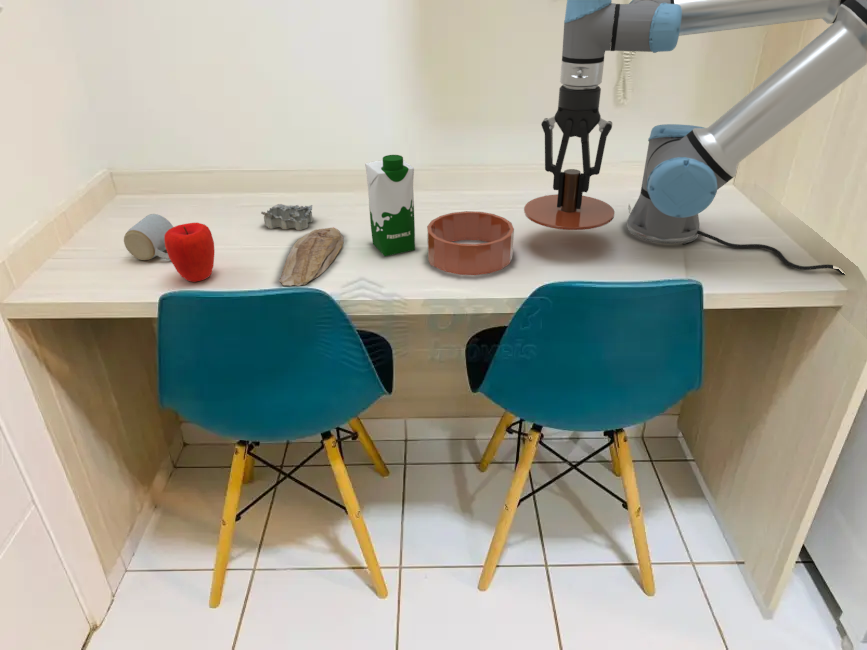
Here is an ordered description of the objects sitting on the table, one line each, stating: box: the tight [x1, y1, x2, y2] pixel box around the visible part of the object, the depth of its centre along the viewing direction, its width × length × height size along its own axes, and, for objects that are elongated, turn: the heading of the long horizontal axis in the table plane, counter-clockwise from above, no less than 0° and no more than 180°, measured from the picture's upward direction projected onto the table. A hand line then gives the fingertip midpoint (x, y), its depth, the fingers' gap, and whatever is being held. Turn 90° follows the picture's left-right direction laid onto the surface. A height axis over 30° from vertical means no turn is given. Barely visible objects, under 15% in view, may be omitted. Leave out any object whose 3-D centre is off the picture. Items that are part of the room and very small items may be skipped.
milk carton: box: [364, 154, 416, 257], centre depth 130 cm, size 9×9×20 cm
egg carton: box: [260, 203, 314, 231], centre depth 146 cm, size 11×8×4 cm
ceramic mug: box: [123, 213, 174, 261], centre depth 131 cm, size 11×8×8 cm
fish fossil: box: [278, 227, 344, 287], centre depth 131 cm, size 26×10×1 cm, turn 179°
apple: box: [165, 222, 215, 283], centre depth 122 cm, size 9×9×11 cm
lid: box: [523, 168, 616, 231], centre depth 127 cm, size 18×18×9 cm
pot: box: [426, 210, 515, 276], centre depth 128 cm, size 17×17×7 cm
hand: (569, 205), depth 128 cm, fingers closed on lid, 3 cm apart
